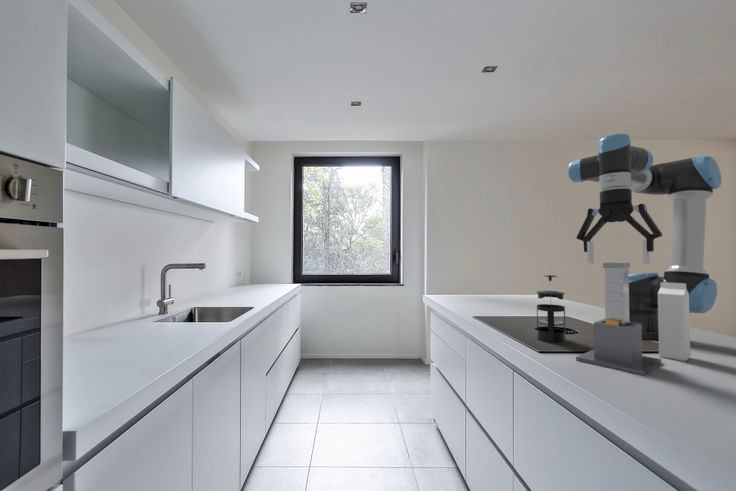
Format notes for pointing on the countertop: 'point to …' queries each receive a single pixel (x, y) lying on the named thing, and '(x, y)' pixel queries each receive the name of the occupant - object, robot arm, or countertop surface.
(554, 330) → the french press
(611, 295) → the column
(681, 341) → the milk
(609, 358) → the base
